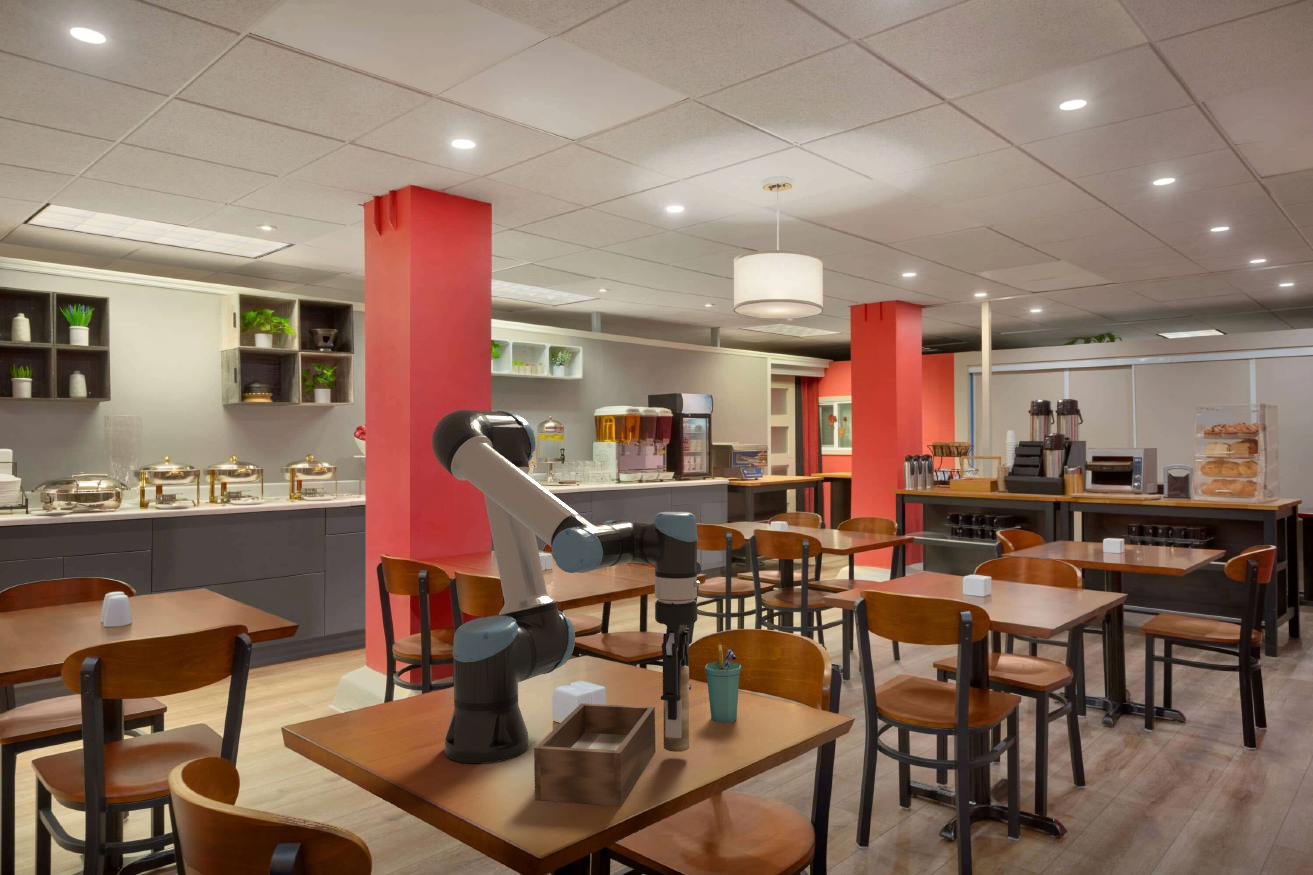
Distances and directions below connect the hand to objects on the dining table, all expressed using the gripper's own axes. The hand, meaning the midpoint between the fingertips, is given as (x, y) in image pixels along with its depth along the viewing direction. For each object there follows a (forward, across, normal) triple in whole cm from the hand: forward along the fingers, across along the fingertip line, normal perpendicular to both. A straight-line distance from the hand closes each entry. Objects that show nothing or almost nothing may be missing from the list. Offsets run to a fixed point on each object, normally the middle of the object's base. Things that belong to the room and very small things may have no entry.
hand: (676, 731), depth 146 cm
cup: (+5, +23, -6) cm, 24 cm away
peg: (+3, 0, 0) cm, 3 cm away
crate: (+5, -9, +11) cm, 15 cm away
